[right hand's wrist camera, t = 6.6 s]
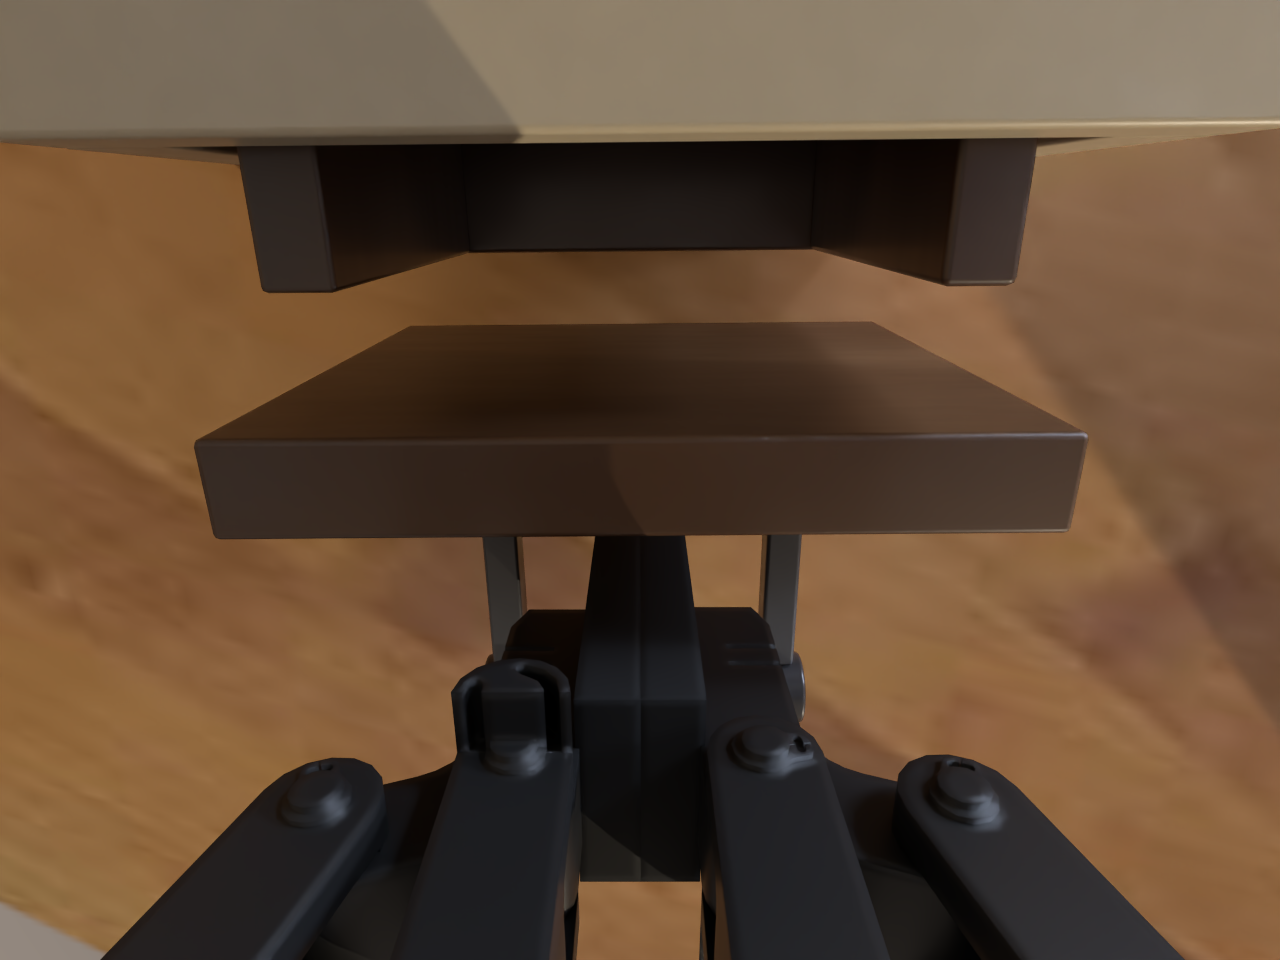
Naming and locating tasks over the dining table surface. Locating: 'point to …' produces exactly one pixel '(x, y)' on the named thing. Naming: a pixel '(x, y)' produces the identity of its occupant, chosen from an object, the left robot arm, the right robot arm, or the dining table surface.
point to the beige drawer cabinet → (629, 72)
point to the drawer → (641, 360)
